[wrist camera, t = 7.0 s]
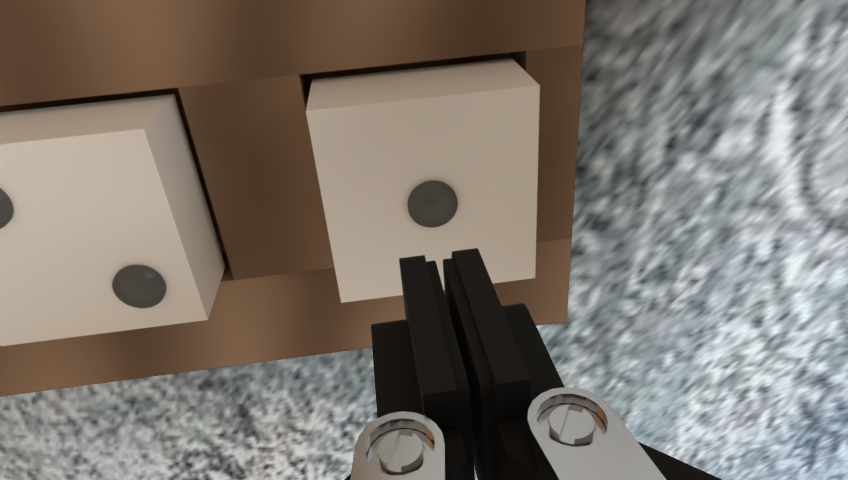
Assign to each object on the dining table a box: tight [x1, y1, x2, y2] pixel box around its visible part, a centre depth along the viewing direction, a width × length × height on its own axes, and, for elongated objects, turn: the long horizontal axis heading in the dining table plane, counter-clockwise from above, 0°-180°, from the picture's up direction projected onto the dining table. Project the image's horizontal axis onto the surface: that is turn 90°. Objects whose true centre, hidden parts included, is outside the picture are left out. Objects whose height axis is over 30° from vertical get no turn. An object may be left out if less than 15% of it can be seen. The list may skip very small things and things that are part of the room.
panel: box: [0, 0, 586, 396], centre depth 19 cm, size 30×14×3 cm, turn 94°
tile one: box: [306, 58, 540, 303], centre depth 18 cm, size 6×6×3 cm
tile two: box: [0, 94, 226, 346], centre depth 17 cm, size 6×6×3 cm
